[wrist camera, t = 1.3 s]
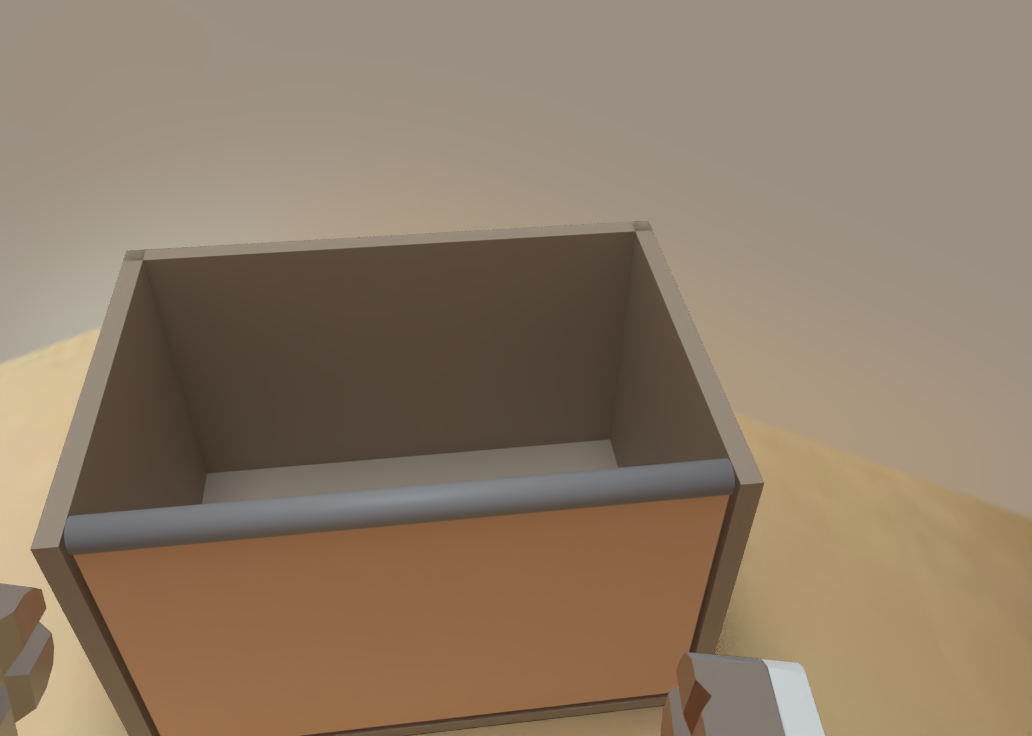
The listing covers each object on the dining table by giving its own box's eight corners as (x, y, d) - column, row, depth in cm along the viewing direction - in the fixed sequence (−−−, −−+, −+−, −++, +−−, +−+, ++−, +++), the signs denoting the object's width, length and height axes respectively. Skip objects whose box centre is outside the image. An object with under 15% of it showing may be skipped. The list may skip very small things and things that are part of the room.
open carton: (620, 435, 52) (648, 220, 42) (700, 701, 40) (764, 482, 30) (195, 471, 49) (126, 250, 40) (145, 765, 37) (30, 549, 28)
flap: (672, 670, 40) (726, 450, 31) (680, 696, 39) (737, 477, 30) (171, 726, 37) (70, 507, 28) (167, 755, 36) (61, 538, 27)
